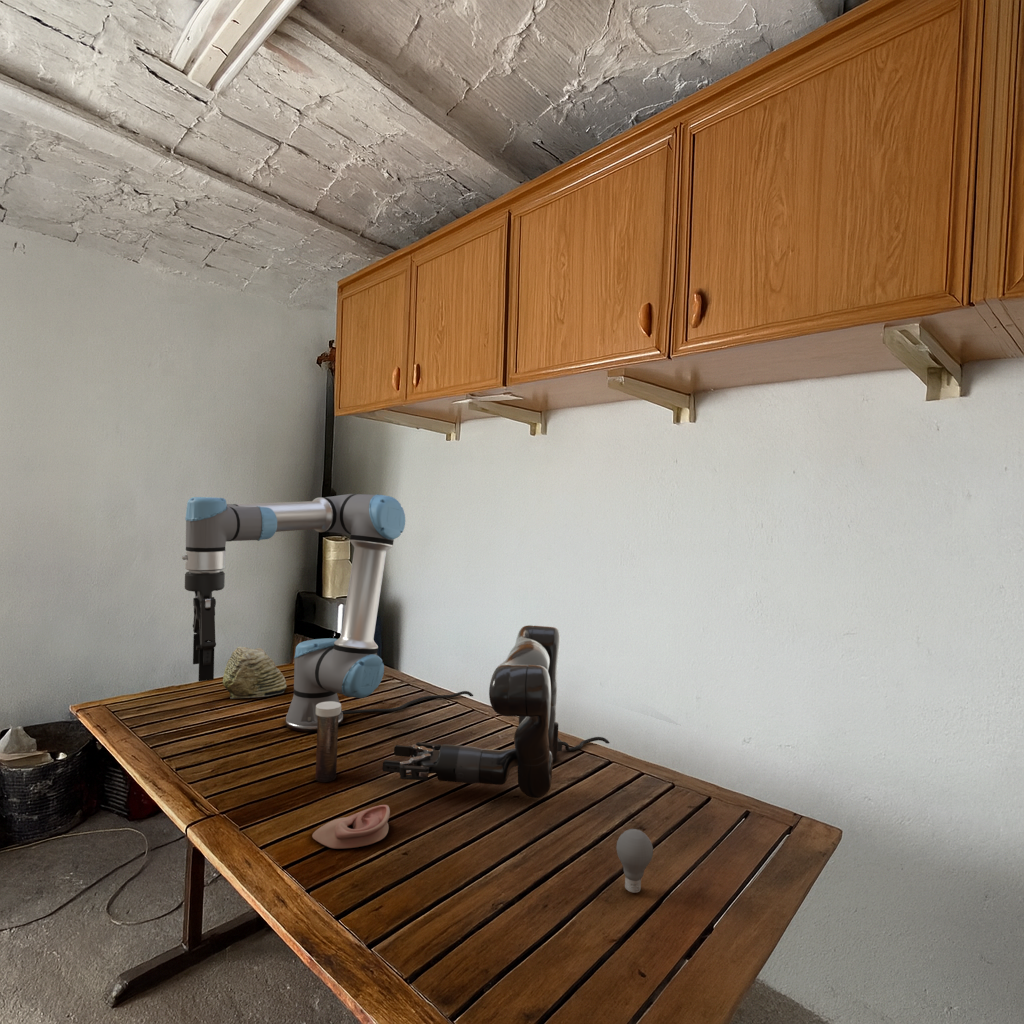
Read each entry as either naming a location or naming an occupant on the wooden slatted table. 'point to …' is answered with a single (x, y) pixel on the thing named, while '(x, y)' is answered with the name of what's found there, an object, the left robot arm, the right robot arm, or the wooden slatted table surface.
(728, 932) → the wooden slatted table surface
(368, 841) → the anatomical model
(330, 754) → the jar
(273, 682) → the fossil
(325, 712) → the lid
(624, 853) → the light bulb
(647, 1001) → the wooden slatted table surface
